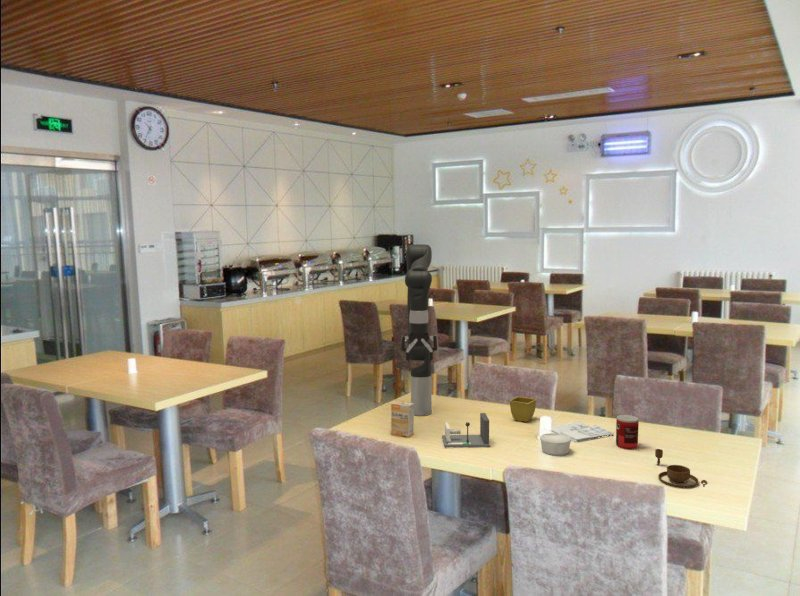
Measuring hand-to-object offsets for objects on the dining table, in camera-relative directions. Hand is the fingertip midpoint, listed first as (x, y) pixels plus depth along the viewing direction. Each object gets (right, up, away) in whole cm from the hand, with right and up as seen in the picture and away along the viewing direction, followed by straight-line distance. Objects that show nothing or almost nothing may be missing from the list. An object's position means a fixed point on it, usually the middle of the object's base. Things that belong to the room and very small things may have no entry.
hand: (419, 361), depth 259 cm
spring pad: (+13, -29, -9) cm, 33 cm away
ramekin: (+50, -32, -20) cm, 62 cm away
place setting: (+84, -35, -45) cm, 102 cm away
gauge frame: (+17, -30, -9) cm, 36 cm away
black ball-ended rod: (+18, -29, -14) cm, 37 cm away
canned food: (+78, -31, -15) cm, 85 cm away
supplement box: (-7, -30, +1) cm, 31 cm away
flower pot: (+45, -27, +19) cm, 56 cm away
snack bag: (+64, -30, +2) cm, 71 cm away
